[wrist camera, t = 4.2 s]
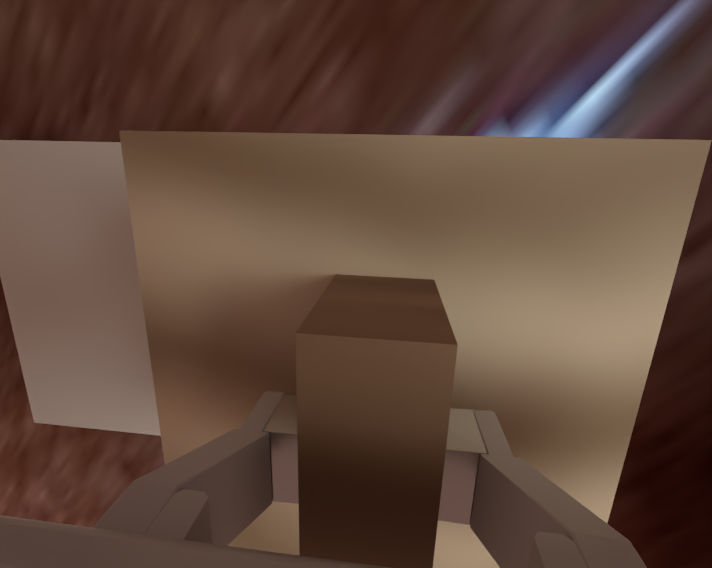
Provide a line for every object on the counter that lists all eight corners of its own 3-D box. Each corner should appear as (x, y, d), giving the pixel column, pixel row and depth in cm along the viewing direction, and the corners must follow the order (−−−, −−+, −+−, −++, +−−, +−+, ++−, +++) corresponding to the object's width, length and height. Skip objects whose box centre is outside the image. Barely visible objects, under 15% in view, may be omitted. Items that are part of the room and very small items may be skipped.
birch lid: (149, 136, 11) (-72, 95, 6) (672, 145, 9) (994, 102, 4) (193, 518, 14) (85, 695, 9) (569, 566, 13) (674, 804, 8)
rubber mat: (-15, 141, 23) (-32, 139, 22) (226, 146, 22) (218, 144, 21) (46, 414, 29) (34, 422, 28) (243, 434, 27) (238, 443, 26)
